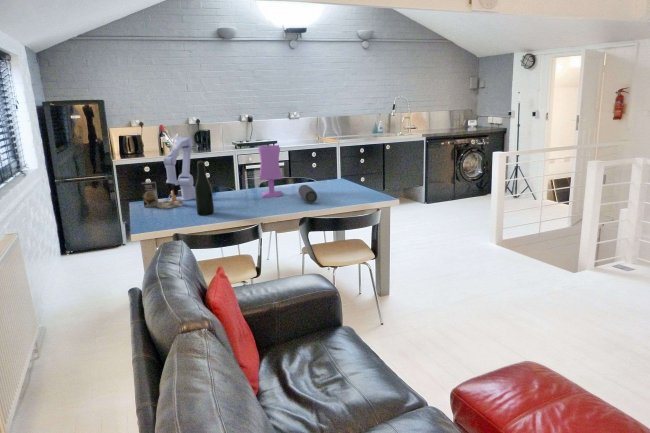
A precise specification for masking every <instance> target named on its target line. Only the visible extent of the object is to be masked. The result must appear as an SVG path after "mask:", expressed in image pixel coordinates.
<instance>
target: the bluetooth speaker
mask: <svg viewBox="0 0 650 433" xmlns="http://www.w3.org/2000/svg"><path fill="white" fill-rule="evenodd" d="M298 195H299V196H300V197H301V198H302V199H303V200H304V201H305V202H306V203H308V204H313V203H315V202H316V201H317V200H318V194H317V192H316V190H315V189H314V188H312V187H311V186H309V185H307V184H301V185H300V186H299V187H298Z"/></svg>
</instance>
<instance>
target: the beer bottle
mask: <svg viewBox="0 0 650 433" xmlns="http://www.w3.org/2000/svg"><path fill="white" fill-rule="evenodd" d="M196 166H197V180H196V183H195V186H194V187H195V195H196V199H195V206H196V214H197V215H198V216H209V215H212V214H214V213H215V204H214V196H213V189H212V186H211V185H212V184H211V183H210V181H209V179H208V177H207V173H206V167H205V166H206V165H205V162H204V161H203V160H199V161H197V164H196Z"/></svg>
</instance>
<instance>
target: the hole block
mask: <svg viewBox="0 0 650 433" xmlns="http://www.w3.org/2000/svg"><path fill="white" fill-rule="evenodd" d="M176 199H177V201H175V202H172V199H168V200H163V201H158V202H157V206H156V207H157V208H159V209H162V210H166V209H170V208H175V207H181V206H184V204H183V203H184V202H183V201H184V200H181V199H178V198H176Z"/></svg>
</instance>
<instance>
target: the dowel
mask: <svg viewBox="0 0 650 433" xmlns="http://www.w3.org/2000/svg"><path fill="white" fill-rule="evenodd" d="M170 195H171V200H172V202H175V201H177V199H178V198H177V195H174V191H173V190H172V191H171V194H170Z"/></svg>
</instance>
